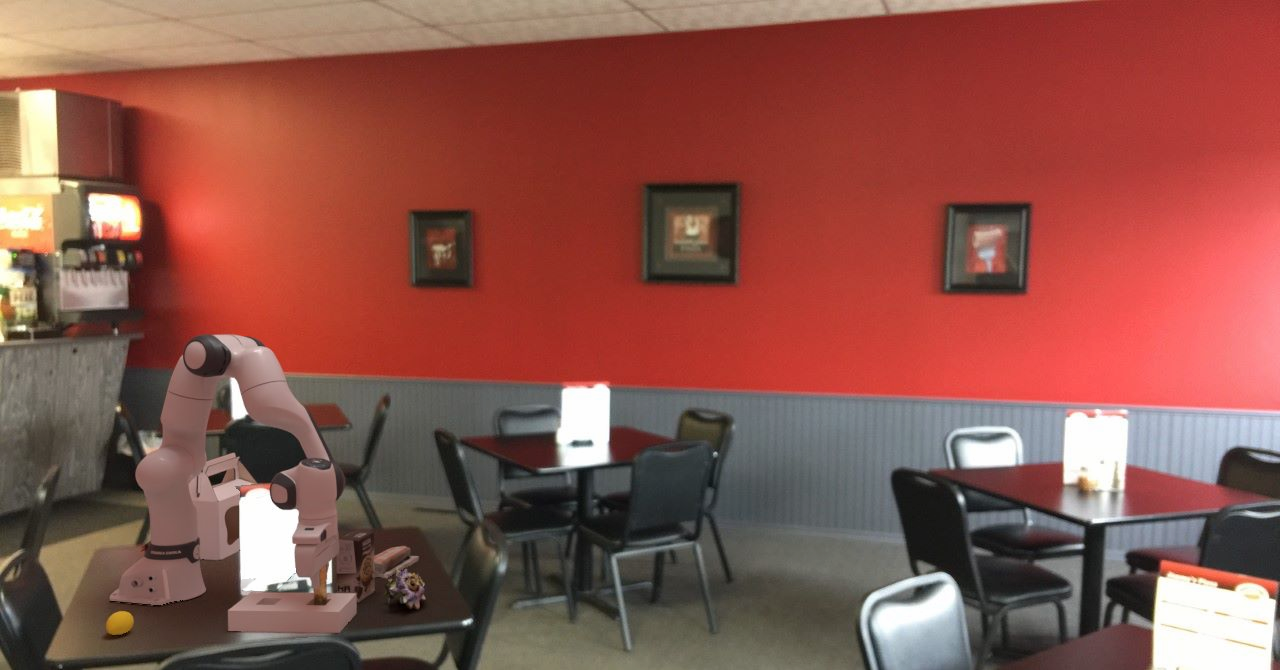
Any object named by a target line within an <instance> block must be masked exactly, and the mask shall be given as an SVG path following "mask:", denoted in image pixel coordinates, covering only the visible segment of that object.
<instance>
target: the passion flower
mask: <svg viewBox="0 0 1280 670" xmlns="http://www.w3.org/2000/svg"><path fill="white" fill-rule="evenodd" d="M395 573H396V574H395V578H394V580H393V577H392V578H391V577H390V578H388V579H387V582H385V583H386V584H384V587H385V589H386V591H385V592H384V593H383V595H382V597H383V598H385V597H386V596H388V605H390V604H391V601H392V600H393V599H394V598H395V596H396V595H398V594H402V595H401V597H400V598H399V603H400V604H401V605H404V604H405V605H406V607H407V608H408V609H409V610H412V609H414V610H419V609H420V600H422V601H425V600H426V597H425V595H424V593H425V590H427V589H426V588H424V586H425V582H423V579H422V577H421V573H420V572H417V574H416V573H415V572H408V568H405V569H404V570H402V571H399V570H398V569H397V568H395Z"/></svg>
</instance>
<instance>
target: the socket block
mask: <svg viewBox="0 0 1280 670" xmlns="http://www.w3.org/2000/svg"><path fill="white" fill-rule="evenodd" d="M357 608H358V607H357V603H356V593H337V592H333V593H332V592H327V604H326V605H314V592H277V591H250V592H249V593H248V594H247V595H245V596H244V597H243V598H242V599H241V600H240V601H238V602H237V603H235V604H234V605H233V606H232V607H231V608H228V610H227V626H228V630H227V631H241V632H242V633H244V632H245V633H246V632H249V633H303V634H304V633H305V634H306V633H309V634H310V633H319V634H320V633H321V634H322V633H323V634H328V633H329V634H340V633H341V632H342V630H343V629H345V627H346V626H347V625H348V624H349V623H350V622H351V621H352V619H353V618H355V616H356V615H357ZM348 622H349V623H348ZM241 632H240V633H241Z"/></svg>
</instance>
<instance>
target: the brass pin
mask: <svg viewBox="0 0 1280 670" xmlns="http://www.w3.org/2000/svg"><path fill="white" fill-rule="evenodd" d="M319 578H320V579H321V586H320V587H319V588H312V589H313V593H314V605H326V604H327V593H328V589H327V587H328V586H327V580H326V565H325V566H324V567H323V568H322V569H321V570H320V574H319Z"/></svg>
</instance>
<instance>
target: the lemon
mask: <svg viewBox="0 0 1280 670" xmlns="http://www.w3.org/2000/svg"><path fill="white" fill-rule="evenodd" d="M134 622H135V620H134V616H133V615H132V613H130V612H128V611H124V610H119V611H116V612H113V613H112V614H111V615H110V616H109V617H108V618H107V620H106V622H105V629H106V631H107V633H108V634H110V635H111V634H112V635H116V634H123V633H126V632H127V633H128V631H129V632H130V631H131V629H132V628H133V627H134ZM127 633H126V634H127ZM112 635H111V636H112Z"/></svg>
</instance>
